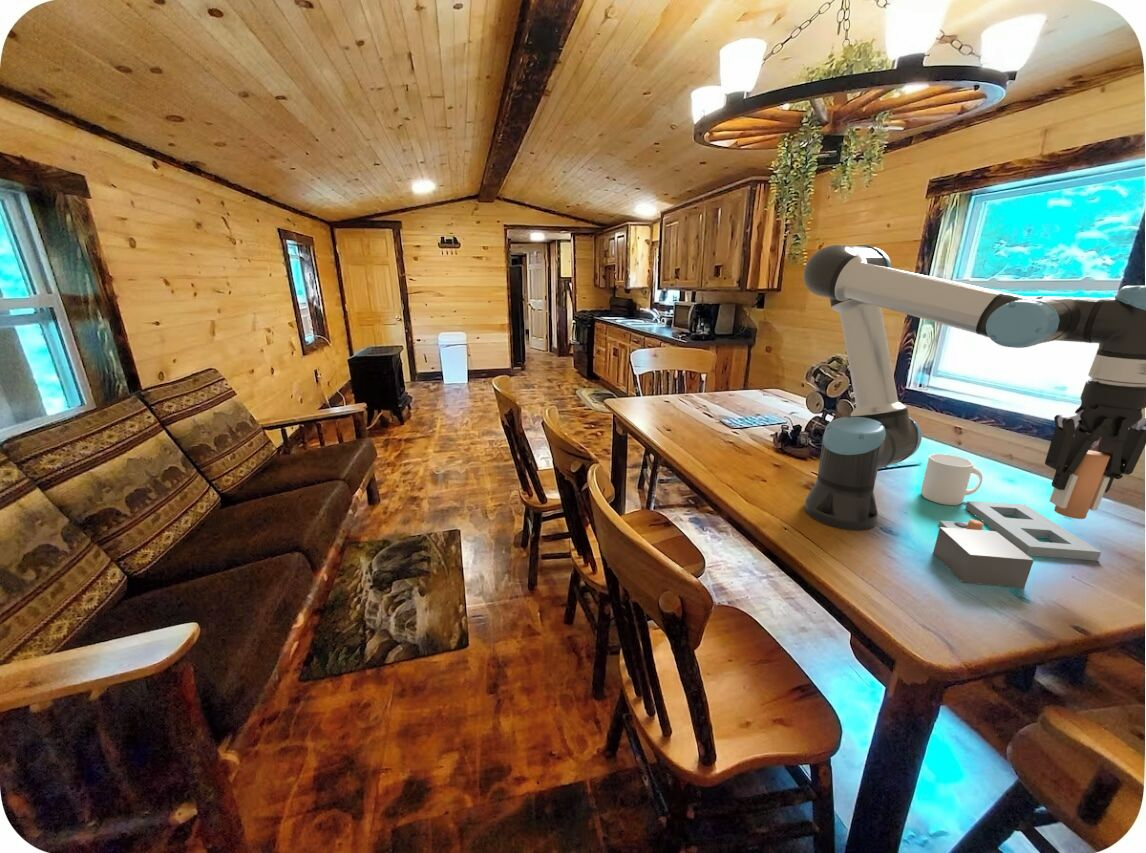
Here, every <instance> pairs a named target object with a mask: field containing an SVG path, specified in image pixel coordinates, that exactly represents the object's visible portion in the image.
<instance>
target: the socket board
mask: <svg viewBox="0 0 1146 853" xmlns="http://www.w3.org/2000/svg"><path fill="white" fill-rule="evenodd" d="M965 510H966V511H968V512H969V511H970V512H969V513H971V514H972V513H973V514H974V516H975V515H976V516H977V517H979V518H980V519H981V520H983V521H984V522H985V523H987V524H988V525H989V526H990V527H989V526H988V525H987V524H986V525H987V526H988V527H989V528H991V529H992V531H996V532H998V533H999V534H1000V535H1002V536H1003V537H1004V538H1005V539H1007V540H1008V541H1009V542H1011V543H1012V544H1013V545H1015V546H1016V547H1017V548H1019V549H1020V550H1021V551H1023V552H1024V553H1025V554H1026V555H1028V556H1034V557H1035V556H1038V557H1049V558H1050V557H1051V558H1059V559H1073V560H1075V559H1076V560H1085V561H1096V562H1097V561H1099V559H1100V558H1101V554H1102V551H1101V550H1099V549H1097V548H1096V547H1094V546H1092V545H1091V544H1090V543H1088V542H1086V541H1084V540H1083V539H1082V538H1079V537H1078V536H1076V535H1075V534H1074V533H1071V532H1069V530H1066V529H1065V528H1063V527H1062V526H1060V525H1059V524H1057V523H1056V522H1054V521H1052V520H1050V519H1049V518H1047V517H1045V516H1044V515H1042V514H1041V513H1039V512H1037V511H1036V510H1035V509H1033V508H1031V507H1030V506H1027V505H1026V504H1022V503H1021V504H1020V503H1004V502H1003V503H1002V502H990V501H989V502H988V501H986V502H985V501H973V500H972V501H970V500H967V501H966V504H965ZM973 514H972V515H973ZM976 516H975V517H976ZM1005 516H1012V517H1005ZM977 517H976V518H977ZM1013 517H1015V518H1013ZM979 518H978V519H979ZM980 519H979V520H980ZM981 520H980V521H981ZM983 521H982V522H983ZM984 522H983V523H984ZM985 523H984V524H985ZM1037 538H1038V539H1039V538H1040V539H1041V538H1042V539H1047V540H1049V541H1050V542H1048V541H1047V542H1046V541H1040V540H1038V539H1037Z"/></svg>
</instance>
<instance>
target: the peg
mask: <svg viewBox="0 0 1146 853" xmlns="http://www.w3.org/2000/svg"><path fill="white" fill-rule="evenodd" d="M1109 458H1110V456H1109V455H1107V454H1104V453H1101V452H1100V451H1097V450H1090V449H1089V450H1088V452H1087V453H1086V455H1085V456H1084V458H1083V460H1082V461H1081V463H1080V464H1079V466H1078V467H1077V469H1076V470H1075V472H1074V473H1073V474H1075V475H1077V476H1078V478H1077V481H1076V484H1075V486H1074V489H1073V491H1072V494H1071V497H1070V499H1069V502H1068V504H1067V507H1066V508H1060V507H1058V506H1057V505H1055V506H1054V508H1053V511H1054V512H1055V513H1056V514H1059V515H1061V516H1064V517H1067V518H1069V519H1075V520H1084V519H1086V518H1087V515H1088V512H1089V511H1090V509H1089V508H1090V506H1091V503H1092V501H1093V498H1094V496H1095V493H1096V491H1097V488H1098V486H1099V483H1100V481H1101V478H1102V476H1103V473H1104V471H1105V468H1106V466H1107V463H1108V461H1109Z"/></svg>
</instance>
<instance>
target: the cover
mask: <svg viewBox="0 0 1146 853" xmlns="http://www.w3.org/2000/svg"><path fill="white" fill-rule="evenodd" d="M934 544H935V545H934V547H933V548H934V549H933V554H934V555H935V557H937V558H938V559H939V560H940V561H941V562H942V563H943V564H944V565H945V566H946V567H947V566H948V567H947V568H948V569H949V568H950V569H949V571H950V572H952V573H953V575H954V576H956V578H958V580H961V581H962V582H961V581H960V582H961V583H965V582H966V583H967V584H976V585H977V584H978V585H988V586H996V587H997V586H998V587H1008V588H1018V589H1019V588H1020V589H1025V586H1026V585H1027V581H1028V579H1029V575H1030V572H1031V570H1032V567H1033V563H1034V561H1035V560H1034V559H1033V558H1032V557H1030V555H1026V554H1025V553H1024V552H1023V551H1021V550H1020V549H1019V548H1017V547H1016V546H1015V545H1013V544H1012V543H1011V542H1009V541H1008V540H1007V539H1005V538H1004V537H1003V536H1002V535H1000V534H999V533H998V532H996V531H995V530H985V529H983V530H972V529H958V528H945V527H941V526H940V527H939V529H938V532H937V537H936V540H935V543H934Z"/></svg>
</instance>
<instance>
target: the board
mask: <svg viewBox="0 0 1146 853" xmlns="http://www.w3.org/2000/svg"><path fill="white" fill-rule="evenodd" d="M938 526H940V527H945V528H958V529H972V530H984V529H983V527H984V522H983V521H981V520H976V519H969V520H968V521H967V522H965V521H962V522H961V521H951V520H949V521H948V520H939V522H938Z"/></svg>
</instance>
